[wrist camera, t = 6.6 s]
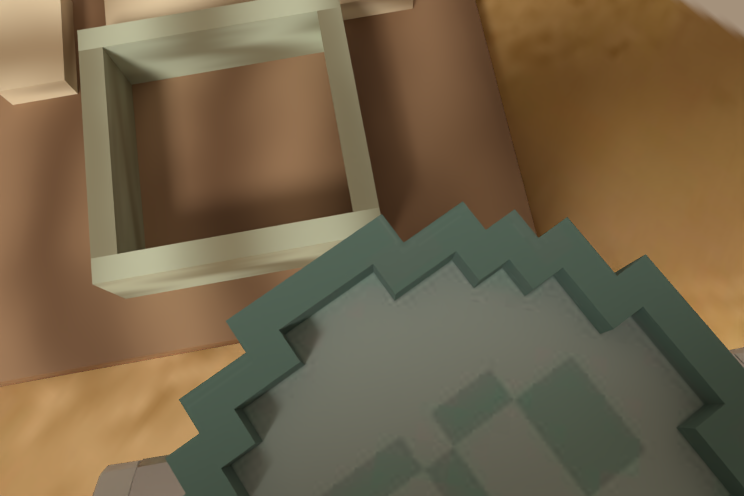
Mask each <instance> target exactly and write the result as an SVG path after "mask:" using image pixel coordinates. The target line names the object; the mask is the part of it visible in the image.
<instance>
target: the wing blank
mask: <svg viewBox="0 0 744 496" xmlns="http://www.w3.org/2000/svg"><path fill="white" fill-rule="evenodd" d="M250 1H256V0H104V3H105V17H106V26H107V25H112V24H118V23H124V22H130V21H136V20H142V19H148V18H154V17H160V16H166V15H172V14H178V13H184V12H190V11H196V10H202V9H208V8H214V7H220V6H226V5H232V4H238V3H244V2H250ZM339 2H340V7H341V12H342V17H343V20H348V19H354V18H360V17H366V16H372V15H378V14H384V13H390V12H395V11H401V10H407V9H413V0H339Z"/></svg>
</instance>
